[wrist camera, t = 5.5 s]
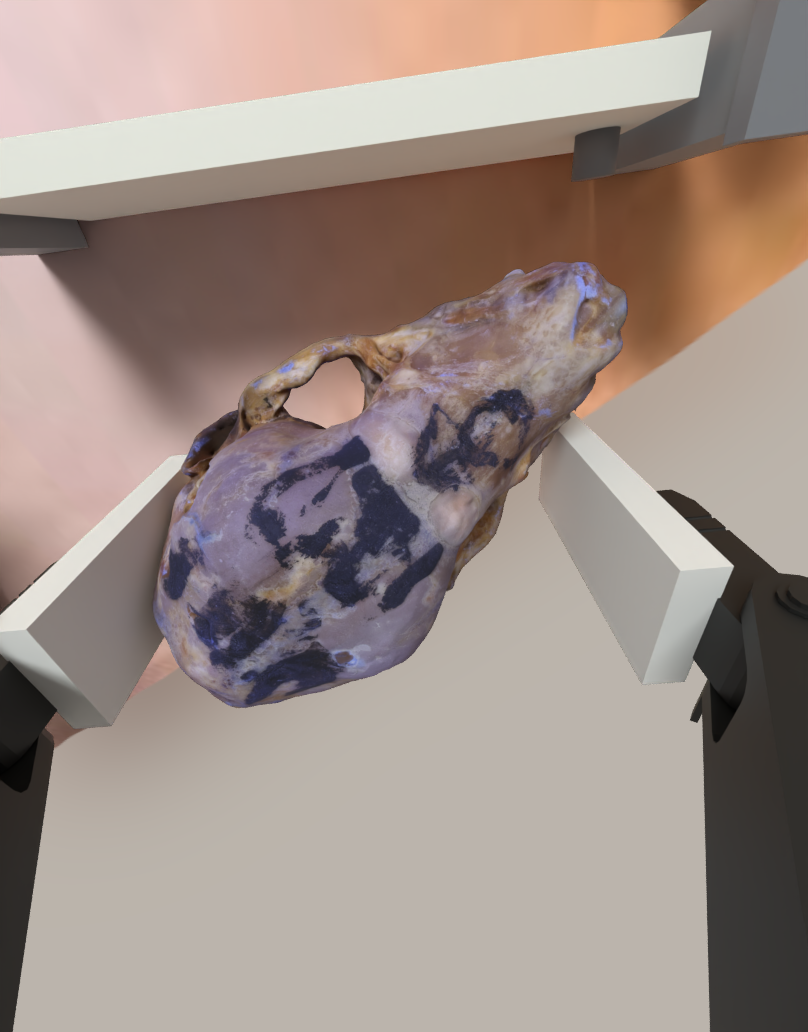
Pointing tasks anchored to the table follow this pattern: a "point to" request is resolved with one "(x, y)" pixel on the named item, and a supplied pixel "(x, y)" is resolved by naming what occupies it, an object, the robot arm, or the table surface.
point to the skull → (371, 486)
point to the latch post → (732, 85)
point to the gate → (355, 133)
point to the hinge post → (38, 235)
